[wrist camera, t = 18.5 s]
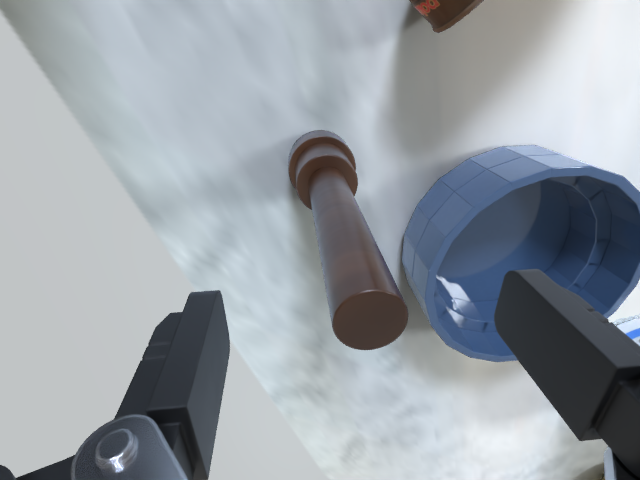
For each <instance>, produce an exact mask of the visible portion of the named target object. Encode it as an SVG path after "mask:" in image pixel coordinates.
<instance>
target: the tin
mask: <svg viewBox="0 0 640 480" xmlns="http://www.w3.org/2000/svg"><path fill="white" fill-rule="evenodd" d="M483 1H484V0H410V2H411V3H412V4H413V6H414V7H415V8H416V9H417V10H418V11H419V12H420V13H421V14H422V15H423V16H424V18H425V19H426V20H427V21H428V22H429V23H430V24H431V25H432V28H433V31H434V32H436V33H440V32H442V31H444V30H446V29H448V28H450V27H451V26H453V25H454V24H455V23H457V22H458V21H460V20H461V19H462V18H463V17H465V16H466V15H467V14H469V13H470V12H471V11H472V10H473V9H475V8H476V7H477V6H478V5H479V4H480V3H482V2H483Z"/></svg>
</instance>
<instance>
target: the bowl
mask: <svg viewBox="0 0 640 480" xmlns="http://www.w3.org/2000/svg"><path fill="white" fill-rule="evenodd" d="M402 263H403V266H404V270H405V274H406V277H407V281H408V284H409V285H410V287H411V289H412V291H413V293H414V295H415V297H416V299H417V300H418V302H419V304H420V306H421V308H422V310H423V312H424V313H425V315H426V317H427V319H428V321H429V323H430V325H431V326H432V328H433V329H434V330H435V331H436V333H437V334H438V335H439V336H440V337H441V339H442V340H443V341H444V342H445V344H446V345H448V346H449V347H451V348H453V349H455V350H457V351H459V352H461V353H462V354H464V355H466V356H468V357H470V358H476V359H482V360H487V361H493V362H505V361H516V360H518V359H517V358H516V357H515V355H514V354H513V353H512V351H511V350H510V349H509V347H508V346H507V345H506V343H505V342H504V341H503V340H502V338H501V337H500V335H499V334H498V332H497V330H496V327H495V322H494V313H495V309H496V305H497V302H498V298H499V294H500V290H501V287H502V283H503V279H504V276H505V274H506V273H507V272H508V271H512V270H526V269H539V270H541V271H542V272H543V273H545V274H546V275H547V276H548V277H549V278H550V279H552V280H553V281H554V282H555V283H556V284H558V285H560V286H561V287H563V288H565V289H567V290H569V291H571V292H573V293H575V294H577V295H579V296H580V297H581V298H582V299H584V300H585V301H586V302H587V303H589V304H590V305H591V306H592V307H593V308H595V311H598V312H599V313H601V314H602V315H603V316H604V317H605V318H608V317H609V316H611V315H612V314H613V313H614V312H615V311H616V310H617V309H618V308H619V307H620V305H621V304H622V303H623V302H624V300H625V299H626V298H627V297H628V295H629V294H630V293H631V292H632V290H633V289H634V288H635V287H636V285H637V284H638V281H639V279H640V192H639V191H638V190H637V189H636V188H635V187H634V186H633V185H632V184H631V183H630V182H629V181H628V180H627V179H626V178H625V177H623V176H622V175H619V174H616V173H613V172H611V171H608V170H605V169H602V168H600V167H597V166H594V165H591V164H589V163H586V162H583V161H580V160H577V159H575V158H572V157H569V156H566V155H564V154H561V153H558V152H555V151H552V150H549V149H545V148H542V147H539V146H536V145H524V146H503V147H499V148H496V149H494V150H491V151H488V152H485V153H482V154H480V155H477V156H474V157H471V158H469V159H467V160H465V161H464V162H463V163H461V164H460V165H458V166H457V167H455V168H454V169H453V170H451V171H450V172H448V173H447V174H445V175H444V176H443V177H441V178H440V179H438V180H437V182H436V183H435V184H434V185H433V186H432V188H431V189H430V190H429V191H428V192H427V194H426V195H425V196H424V197H423V198H422V200H421V201H420V202H419V203H418V204H417V206H416V209H415V211H414V213H413V215H412V218H411V220H410V222H409V224H408V227H407V229H406V231H405V234H404V244H403V254H402Z"/></svg>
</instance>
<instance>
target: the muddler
mask: <svg viewBox="0 0 640 480" xmlns="http://www.w3.org/2000/svg"><path fill="white" fill-rule="evenodd" d="M355 171H356V164H355V159H354V156H353V154H352V152H351V151H350V149H349V147H348V146H347V145H346V143H345V142H344V141H343V139H342V138H340V137H339V136H338V135H336V134H334V133H332V132H329V131H324V130H317V131H312V132H309V133H307V134H305V135H303V136H302V137H300V138H299V139H298V140H297V141H296V142H295V144H294V145H293V147H292V149H291V151H290V155H289V176H290V180H291V182H292V185H293V186H294V188H295V189H296V190H297V193H298V196H299V198H300V200H301V201H302V202H303V204H304V205H305V206H306V207H308V208H309V209H311V210H312V211H313V217H314V223H315V228H316V234H317V240H318V246H319V252H320V258H321V263H322V269H323V275H324V281H325V287H326V292H327V298H328V304H329V310H330V316H331V321H332V327H333V331H334V333H335V335H336V337H337V338H338V339H339V340H340V341H341V342H342V343H343V344H345V345H346V346H348V347H351V348H354V349H358V350H373V349H378V348H381V347H384V346H386V345H388V344H390V343H392V342H393V341H394V340H396V339H397V338H398V337H399V336H400V335H401V334H402V332H403V331H404V329H405V327H406V325H407V321H408V309H407V306H406V304H405V302H404V300H403V298H402V296H401V294H400V292H399V289H398V287H397V285H396V283H395V281H394V279H393V277H392V275H391V273H390V271H389V269H388V267H387V264H386V262H385V260H384V258H383V256H382V254H381V252H380V250H379V248H378V246H377V244H376V242H375V239H374V237H373V235H372V233H371V231H370V229H369V227H368V225H367V223H366V221H365V219H364V217H363V214H362V212H361V210H360V208H359V206H358V204H357V202H356V200H355V198H354V196H355V194H356V191H357V186H358V179H357V174H356V172H355Z"/></svg>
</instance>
